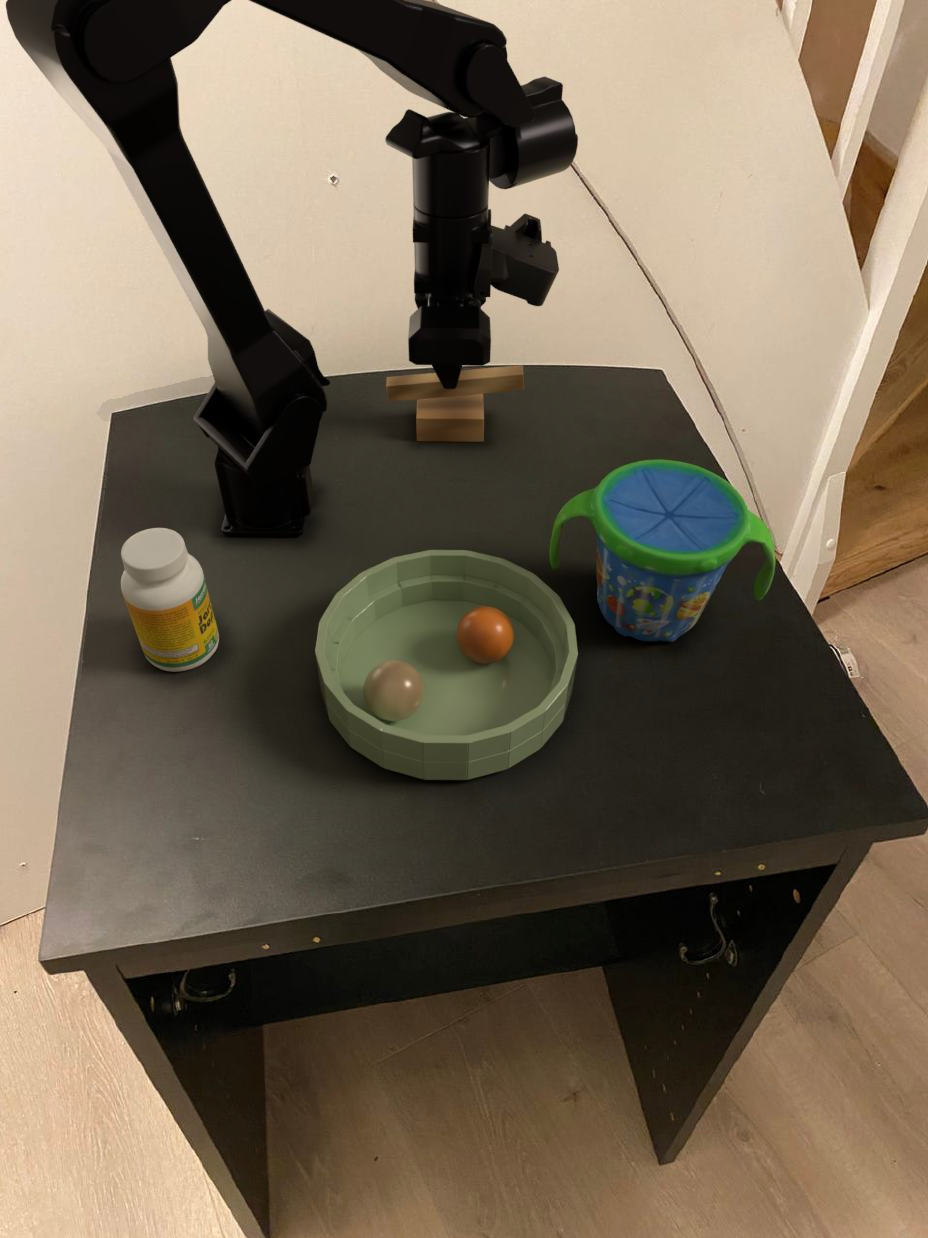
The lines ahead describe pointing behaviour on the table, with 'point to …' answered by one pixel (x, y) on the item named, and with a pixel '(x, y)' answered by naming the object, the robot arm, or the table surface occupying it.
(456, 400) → the block
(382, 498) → the table surface
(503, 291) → the robot arm
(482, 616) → the ball tangerine
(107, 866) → the table surface
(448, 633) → the bowl
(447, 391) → the wooden bar
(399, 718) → the ball taupe
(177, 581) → the supplement bottle
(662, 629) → the snack cup
